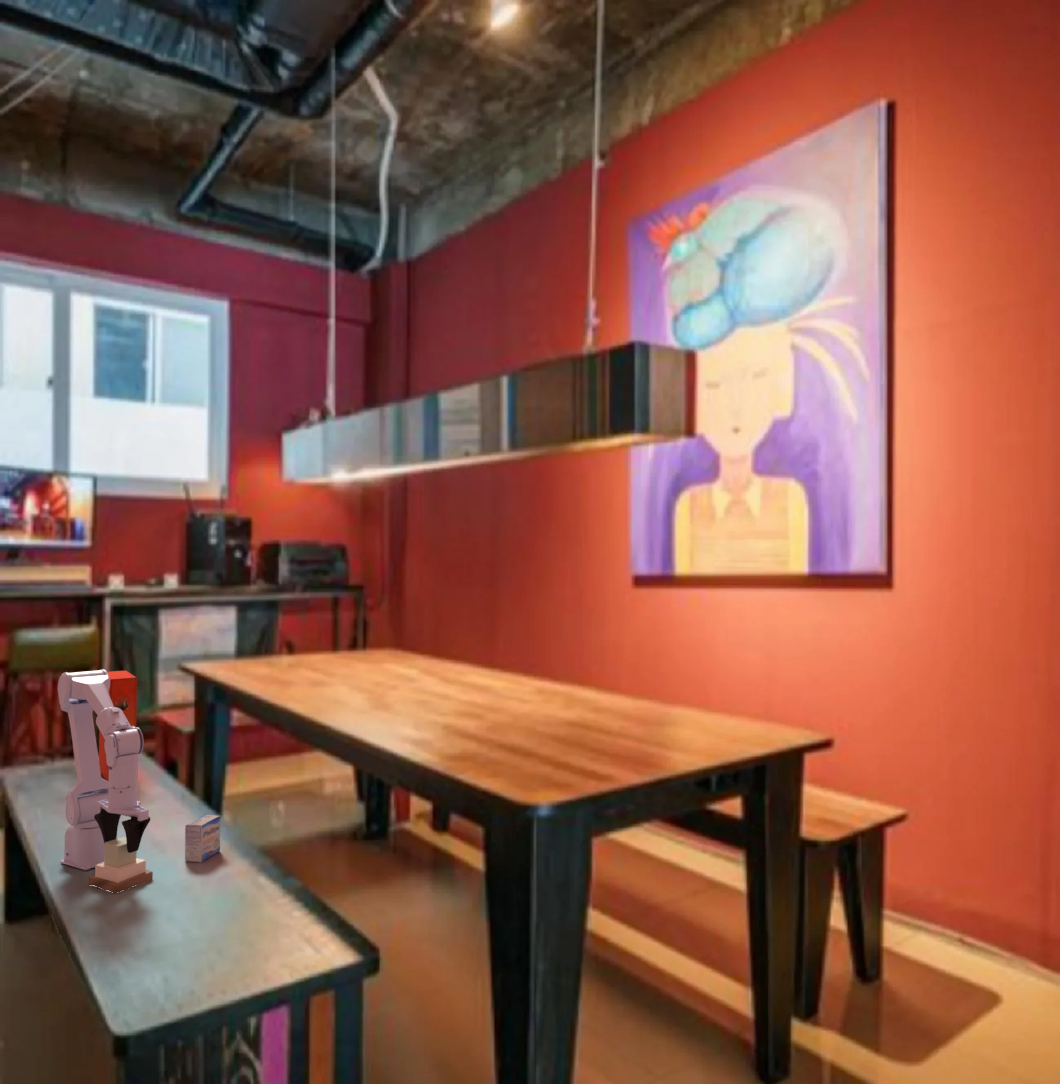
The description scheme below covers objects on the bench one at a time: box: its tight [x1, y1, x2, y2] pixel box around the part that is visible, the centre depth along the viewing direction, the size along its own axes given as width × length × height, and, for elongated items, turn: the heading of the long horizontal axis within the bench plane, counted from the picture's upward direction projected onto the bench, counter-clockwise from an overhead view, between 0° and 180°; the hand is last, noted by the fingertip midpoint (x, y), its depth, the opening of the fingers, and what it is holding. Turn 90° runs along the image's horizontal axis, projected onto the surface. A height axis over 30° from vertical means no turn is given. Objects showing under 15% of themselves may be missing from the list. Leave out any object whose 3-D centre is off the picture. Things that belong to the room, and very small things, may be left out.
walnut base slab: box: [87, 869, 154, 894], centre depth 182 cm, size 9×9×2 cm
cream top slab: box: [94, 857, 147, 883], centre depth 182 cm, size 7×7×2 cm
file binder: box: [98, 670, 138, 782], centre depth 266 cm, size 8×17×32 cm, turn 36°
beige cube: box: [104, 836, 138, 868], centre depth 182 cm, size 4×4×4 cm
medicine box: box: [184, 814, 222, 863], centre depth 198 cm, size 8×4×9 cm, turn 168°
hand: (121, 848), depth 182 cm, fingers open, 7 cm apart
